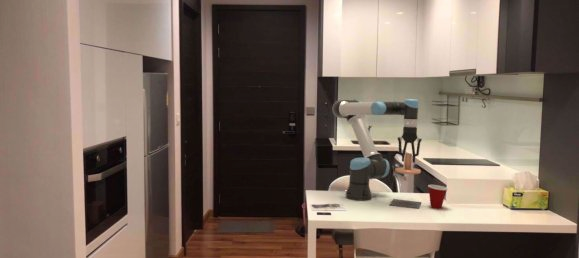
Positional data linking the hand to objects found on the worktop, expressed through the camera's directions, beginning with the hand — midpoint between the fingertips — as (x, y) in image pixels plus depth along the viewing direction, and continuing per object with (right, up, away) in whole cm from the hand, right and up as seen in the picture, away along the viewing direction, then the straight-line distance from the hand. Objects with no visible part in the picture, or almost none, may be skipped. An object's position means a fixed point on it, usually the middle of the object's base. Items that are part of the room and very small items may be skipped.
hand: (408, 167), depth 281 cm
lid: (0, -2, 0) cm, 2 cm away
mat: (-1, -21, +2) cm, 21 cm away
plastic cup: (+15, -22, -3) cm, 27 cm away
